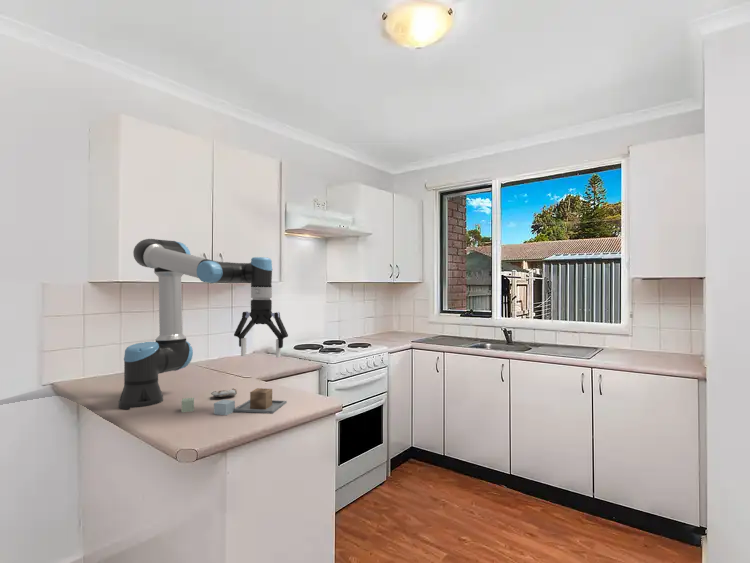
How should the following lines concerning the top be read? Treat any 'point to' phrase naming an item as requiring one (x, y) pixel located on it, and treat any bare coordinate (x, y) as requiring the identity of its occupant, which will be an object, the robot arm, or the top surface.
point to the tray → (246, 409)
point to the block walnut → (260, 398)
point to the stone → (224, 393)
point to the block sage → (187, 404)
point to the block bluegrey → (224, 407)
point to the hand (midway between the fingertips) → (260, 356)
